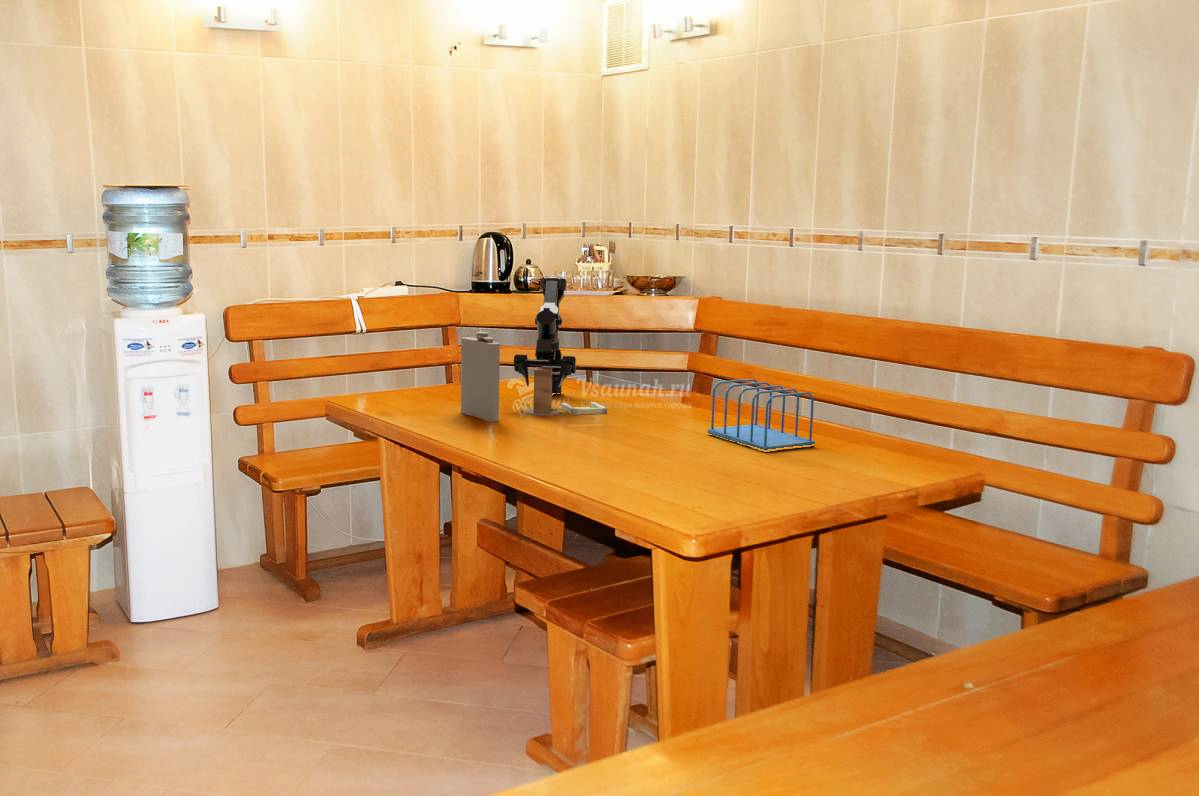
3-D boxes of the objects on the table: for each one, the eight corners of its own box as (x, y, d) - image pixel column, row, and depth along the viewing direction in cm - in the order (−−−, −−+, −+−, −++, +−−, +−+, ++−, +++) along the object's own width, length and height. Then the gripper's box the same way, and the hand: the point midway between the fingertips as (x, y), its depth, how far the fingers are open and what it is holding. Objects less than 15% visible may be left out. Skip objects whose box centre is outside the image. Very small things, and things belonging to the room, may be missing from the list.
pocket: (560, 409, 341) (561, 403, 340) (594, 408, 344) (594, 402, 344) (572, 416, 330) (572, 409, 330) (607, 414, 334) (607, 408, 334)
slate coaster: (516, 413, 333) (516, 411, 333) (541, 408, 341) (541, 406, 341) (543, 418, 326) (543, 416, 326) (568, 413, 334) (568, 411, 334)
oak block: (534, 409, 336) (535, 367, 334) (551, 410, 336) (552, 367, 334) (533, 412, 331) (534, 369, 329) (550, 413, 331) (551, 370, 329)
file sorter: (706, 435, 308) (709, 381, 306) (755, 430, 317) (758, 377, 315) (764, 453, 287) (767, 395, 285) (815, 448, 296) (818, 391, 293)
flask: (503, 420, 321) (504, 334, 316) (489, 422, 318) (490, 335, 314) (472, 411, 334) (473, 328, 330) (458, 412, 331) (459, 329, 327)
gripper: (514, 327, 335) (510, 369, 326) (576, 329, 335) (573, 371, 326) (516, 350, 344) (512, 391, 335) (576, 352, 344) (574, 393, 335)
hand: (543, 386), depth 332 cm, fingers open, 9 cm apart
